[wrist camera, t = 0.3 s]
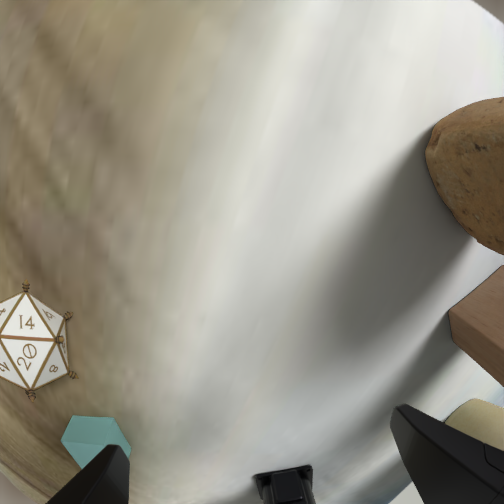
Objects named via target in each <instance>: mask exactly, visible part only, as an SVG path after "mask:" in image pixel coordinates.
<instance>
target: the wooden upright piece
mask: <svg viewBox="0 0 504 504" xmlns="http://www.w3.org/2000/svg"><path fill="white" fill-rule="evenodd" d="M425 156H426V162H427V166H428V170H429V173H430V175H431V178H432V180H433V183H434V186H435V188H436V190H437V192H438V194H439V195H440V197H441V198H442V200H443V201H444V203H445V205H446V206H448V207H449V208H450V210H451V212H452V213H453V216H454V217H455V219H456V220H457V221H458V223H459V224H460V225H461V226H462V227H463V228H464V229H465V231H466V232H467V233H468V234H470V235H471V236H472V237H474V238H475V239H477V242H478V243H480V244H482V245H483V246H485V247H487V248H489V249H491V250H493V251H495V252H497V253H499V254H502V255H504V97H500V98H493V99H487V100H482V101H479V102H475V103H472V104H470V105H467V106H465V107H462V108H460V109H458V110H456V111H454V112H453V113H451V114H449V115H448V116H446V117H444V118H443V119H441V120H440V121H439V122H438V123H437V124H436V125H435V126H434V128H433V131H432V136H431V139H430V141H429V143H428V145H427V147H426V151H425Z"/></svg>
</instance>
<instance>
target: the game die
mask: <svg viewBox="0 0 504 504" xmlns="http://www.w3.org/2000/svg"><path fill="white" fill-rule="evenodd" d="M29 285H30V284H29V283H28V281H27V279H26V280H25V282H24V283H23V290H24V291H22V292H20V293H18V294H16V295H14V296H12V297H10V298H8V299H6V300H3V301H1V302H0V378H2V379H4V380H6V381H8V382H10V383H12V384H14V385H16V386H18V387H20V388H23V389H25V390H26V394H27V395H28V397H29V399H31V401H32V402H33V401H34V399H35V398H36V396H35V393H34V392H33V391H35V390H37V389H39V388H41V387H43V386H45V385H47V384H49V383H51V382H53V381H55V380H57V379H59V378H61V377H63V376H65V375H67V374H68V375H69V376H70V378H71V377H72V378H73V379H77V378H78V377H77V375H76V373H73V372H71V371H69V362H68V351H67V338H66V319H69V318H71V316H72V314H73V312H67V313H65V315H64V316H62V315H61V314H59V313H58V312H56V311H55V310H53V309H52V308H50V307H49V306H47V305H46V304H44V303H43V302H42V301H40V300H39V299H37V298H36V297H35V296H33V295H32V294H30V293H29V292H28V289H29Z"/></svg>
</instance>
